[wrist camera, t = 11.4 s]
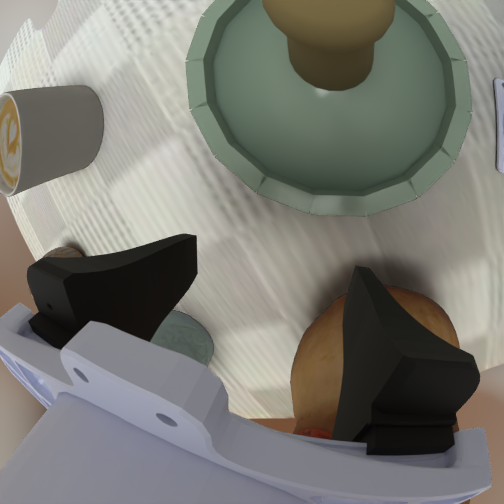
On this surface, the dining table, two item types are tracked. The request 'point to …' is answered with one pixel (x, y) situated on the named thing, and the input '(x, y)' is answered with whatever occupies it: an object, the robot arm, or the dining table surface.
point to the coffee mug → (47, 134)
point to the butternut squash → (331, 361)
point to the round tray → (330, 111)
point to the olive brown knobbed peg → (331, 37)
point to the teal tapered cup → (184, 337)
